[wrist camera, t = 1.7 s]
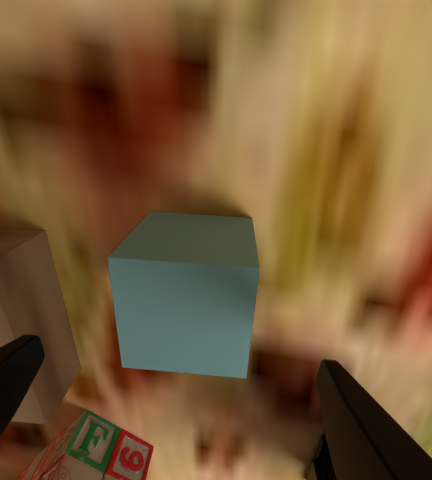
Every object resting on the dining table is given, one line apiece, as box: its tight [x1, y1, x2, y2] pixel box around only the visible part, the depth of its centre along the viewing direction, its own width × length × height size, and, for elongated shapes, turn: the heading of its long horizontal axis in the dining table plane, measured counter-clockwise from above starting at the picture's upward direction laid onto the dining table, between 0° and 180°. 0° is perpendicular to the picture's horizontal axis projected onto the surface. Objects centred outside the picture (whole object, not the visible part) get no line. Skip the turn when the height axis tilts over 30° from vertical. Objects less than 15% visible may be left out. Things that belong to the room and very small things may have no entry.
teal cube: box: [107, 212, 259, 378], centre depth 12 cm, size 5×5×5 cm
